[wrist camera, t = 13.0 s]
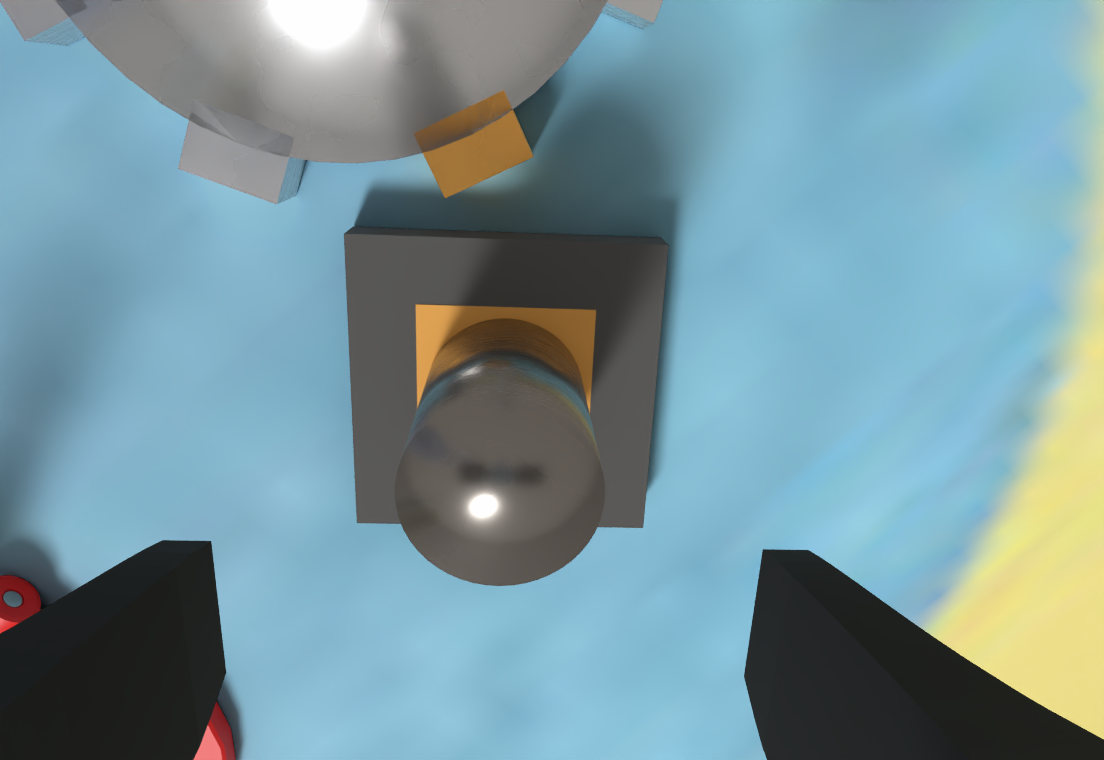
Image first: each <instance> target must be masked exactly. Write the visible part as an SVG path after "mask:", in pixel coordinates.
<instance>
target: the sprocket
mask: <svg viewBox="0 0 1104 760" xmlns="http://www.w3.org/2000/svg"><path fill="white" fill-rule="evenodd" d="M662 1H663V0H0V2H1V4H2V6H3V7H4V9H5V10H6V12H7V14H8V15H9V17H10V18H11V20H12V21H13V23H14V25H15V26H16V28H17V29H18V31H19V33H20V34H21V36H22V37H23V39H24V41H29V42H37V43H46V44H55V45H64V46H68V45H70V44H72V43H74V42H75V41H77V40H79V39H81V38H83V37H86V38H87V39H88V40H89V42H90V43H91V44H92V45H93V46H94V47H95V48H96V49H97V50H98V51H99V52H101V53H102V54H103V55H104V56H105V57H106V58H107V59H108V60H109V61H110V62H111V63H112V64H113V65H114V66H115V67H116V68H117V69H118V70H119V71H121V72H122V73H123V74H124V75H125V76H126V77H127V78H128V79H130V80H131V81H132V82H134V83H135V84H136V85H138V86H139V87H140V88H142V89H143V90H144V91H146V92H147V93H148V94H150V95H151V96H152V97H153V98H155V99H156V100H157V101H159V102H160V103H161V104H163V105H165V106H166V107H168V108H170V109H171V110H173V111H175V112H176V113H178V114H180V115H182V116H183V117H185V118H187V119H188V120H189V122H188V127H187V131H186V136H185V140H184V145H183V149H182V154H181V158H180V163H179V167H178V169H180V170H183V171H186V172H189V173H191V174H194V175H197V176H200V177H203V178H205V179H208V180H211V181H214V182H216V183H219V184H222V185H225V186H227V187H230V188H233V189H236V190H239V191H241V192H244V193H247V194H250V195H252V196H255V197H258V198H261V199H263V200H266V201H269V202H272V203H275V204H278V203H281V202H283V201H285V200H287V199H290V198H292V197H294V196H296V194H297V190H298V186H299V183H300V179H301V175H302V172H303V168H304V164H305V161H306V160H310V161H316V162H337V163H364V162H373V161H383V160H393V159H399V158H403V157H407V156H411V155H415V154H419V153H423V154H424V156H425V158H426V160H427V162H428V165H429V167H430V169H431V171H432V173H433V175H434V177H435V179H436V181H437V183H438V185H439V187H440V189H441V191H442V193H443V195H444V197H445V198H447V197H449V196H451V195H453V194H456V193H458V192H460V191H462V190H464V189H466V188H468V187H470V186H473V185H475V184H477V183H479V182H481V181H483V180H485V179H487V178H490V177H492V176H494V175H496V174H498V173H500V172H502V171H504V170H507V169H509V168H511V167H513V166H515V165H517V164H519V163H522V162H524V161H526V160H528V159H530V158H532V157H533V153H532V150H531V148H530V146H529V143H528V141H527V139H526V137H525V134H524V132H523V130H522V128H521V125H520V123H519V121H518V119H517V116H516V114H515V112H514V108H516V107H517V106H518V105H519V104H521V103H522V102H523V101H525V100H526V99H527V98H529V97H530V96H531V95H533V94H534V93H535V92H536V91H537V90H538V89H539V88H540V87H541V86H542V85H543V84H544V83H545V82H546V81H547V80H548V79H549V78H550V77H551V76H552V75H553V74H554V73H555V72H556V71H557V70H558V69H559V68H560V67H561V66H562V65H563V64H564V63H565V62H566V61H567V60H568V58H569V57H570V56H571V55H572V53H573V52H574V51H575V49H576V48H577V47H578V45H579V44H580V43H581V42H582V40H583V39H584V38H585V36H586V35H587V34H588V33H589V31H590V30H591V28H592V27H593V25H594V23H595V22H596V20H597V18H598V16H599V15H600V13H601V12H604V13H606V14H608V15H611V16H613V17H616V18H618V19H620V20H623V21H625V22H627V23H630V24H632V25H634V26H637V27H639V28H641V29H644V28H646V27H648V26H649V25H651V24H653V23H654V22H655V19H656V17H657V14H658V12H659V9H660V6H661V4H662Z"/></svg>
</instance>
